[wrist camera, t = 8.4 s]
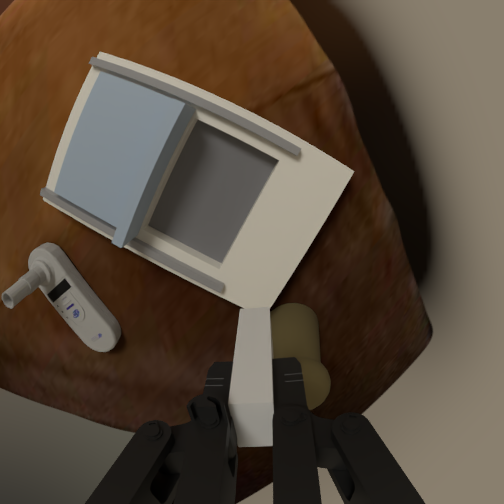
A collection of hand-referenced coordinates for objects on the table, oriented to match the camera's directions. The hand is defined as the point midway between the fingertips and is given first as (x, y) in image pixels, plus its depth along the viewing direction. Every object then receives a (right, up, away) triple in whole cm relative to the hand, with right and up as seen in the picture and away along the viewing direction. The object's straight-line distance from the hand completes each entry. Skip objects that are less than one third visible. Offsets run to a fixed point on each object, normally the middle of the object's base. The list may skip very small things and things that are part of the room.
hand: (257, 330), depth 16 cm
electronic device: (-21, -1, +17) cm, 27 cm away
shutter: (-12, +13, +9) cm, 20 cm away
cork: (+4, -4, +17) cm, 18 cm away
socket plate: (-7, +11, +12) cm, 18 cm away
